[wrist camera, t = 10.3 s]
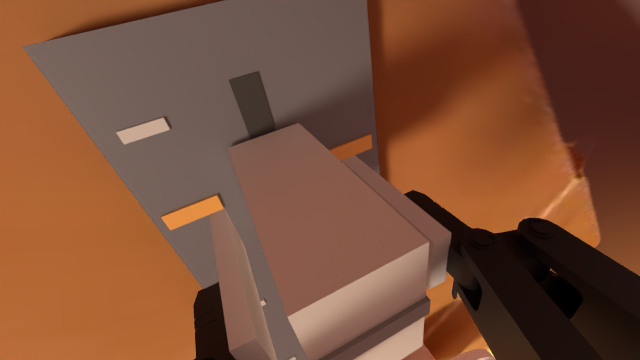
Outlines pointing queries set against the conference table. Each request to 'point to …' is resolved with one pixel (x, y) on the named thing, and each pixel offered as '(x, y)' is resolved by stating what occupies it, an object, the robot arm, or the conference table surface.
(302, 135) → the fader tab
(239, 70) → the fader console
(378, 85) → the conference table surface
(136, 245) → the conference table surface
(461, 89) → the conference table surface
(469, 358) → the ribbed cylinder on disc
